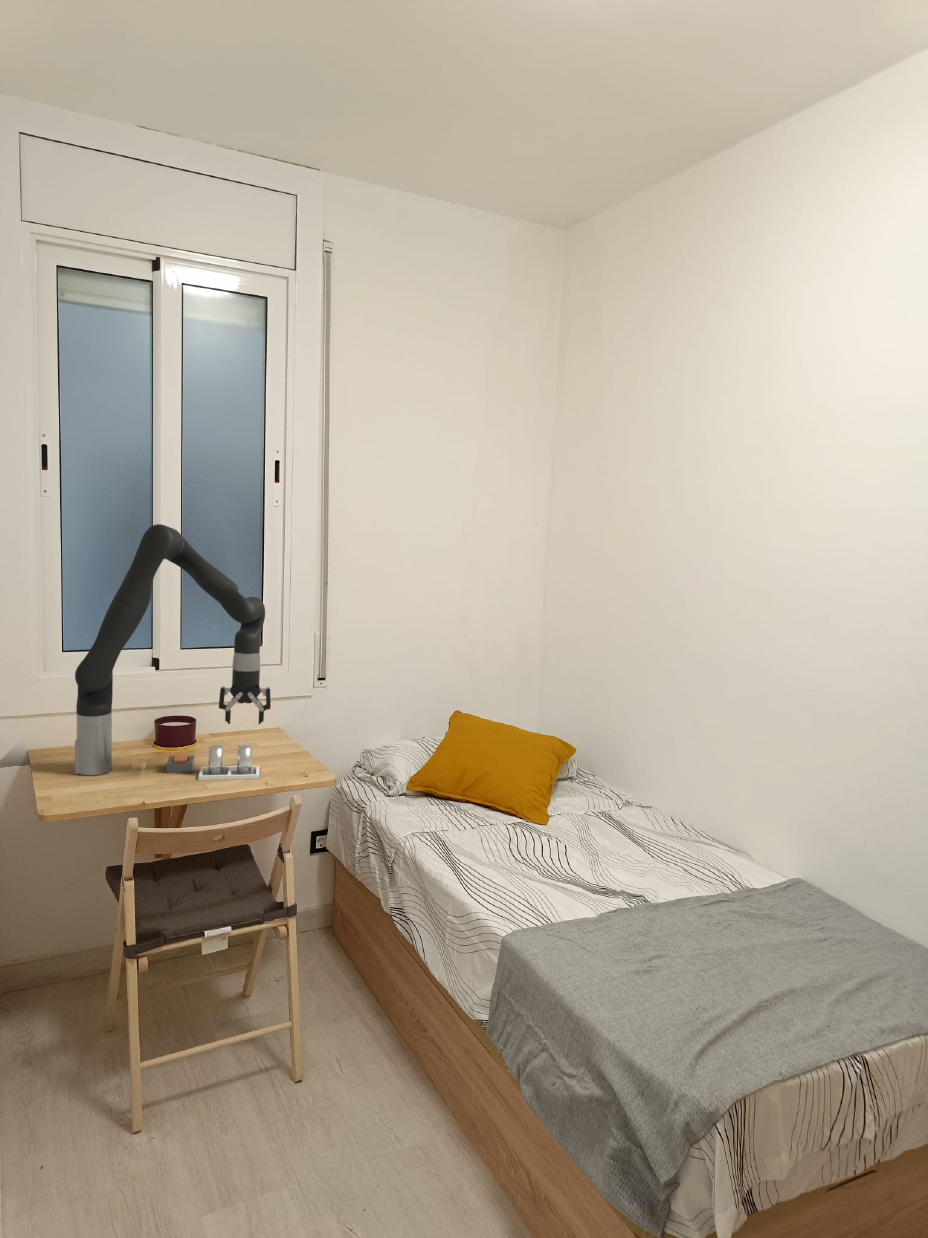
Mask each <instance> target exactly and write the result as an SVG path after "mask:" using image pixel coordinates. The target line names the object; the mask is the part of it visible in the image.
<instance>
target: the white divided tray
mask: <svg viewBox="0 0 928 1238" xmlns="http://www.w3.org/2000/svg"><path fill="white" fill-rule="evenodd" d="M261 777H262V768H261V767H260V765H251V774H247V775H237V765H233V766H232V765H227V766H225V765H223V775H208V766H201V767H200V769H199V770H198V774H197V777H196V781H197V782H198V781H238V780H239V781H241V780H242V781H243V780H245V781H247V780H262V778H261Z"/></svg>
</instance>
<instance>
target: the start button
mask: <svg viewBox="0 0 928 1238" xmlns="http://www.w3.org/2000/svg"><path fill="white" fill-rule="evenodd" d="M174 756H175V757H174V760H173V762H188V756H189V755H174Z"/></svg>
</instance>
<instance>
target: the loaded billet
mask: <svg viewBox="0 0 928 1238" xmlns="http://www.w3.org/2000/svg"><path fill="white" fill-rule="evenodd" d="M223 766H224V746H222V745H210V746H209V747H208V766H207V767H208V775H223Z"/></svg>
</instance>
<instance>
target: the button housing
mask: <svg viewBox="0 0 928 1238" xmlns="http://www.w3.org/2000/svg"><path fill="white" fill-rule="evenodd" d="M175 756H176V755H173V756H172V755H169V756H168V759H167V761H166V767H165V768H166V774H192V773H193V771H194V767H195V755H187V756H188V762H173V760H174V757H175Z"/></svg>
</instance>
